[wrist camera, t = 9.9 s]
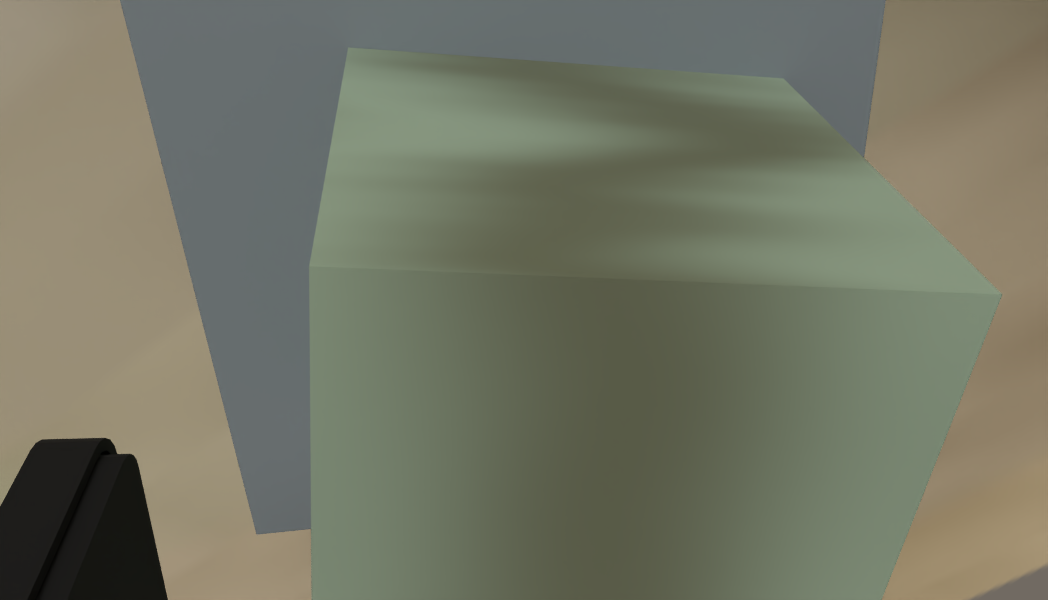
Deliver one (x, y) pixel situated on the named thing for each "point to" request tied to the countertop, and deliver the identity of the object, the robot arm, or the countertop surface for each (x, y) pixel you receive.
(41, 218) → the countertop surface
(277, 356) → the slab top
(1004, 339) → the countertop surface
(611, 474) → the sage block
